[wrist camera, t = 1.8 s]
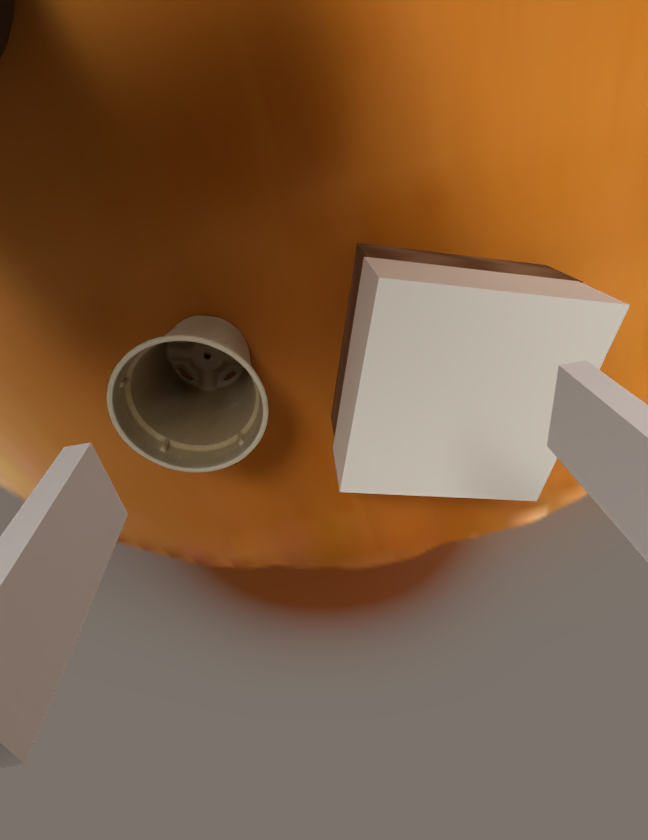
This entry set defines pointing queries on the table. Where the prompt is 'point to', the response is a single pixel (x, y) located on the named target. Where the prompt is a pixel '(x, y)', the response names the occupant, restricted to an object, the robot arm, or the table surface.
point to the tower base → (425, 258)
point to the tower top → (460, 378)
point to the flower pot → (189, 397)
